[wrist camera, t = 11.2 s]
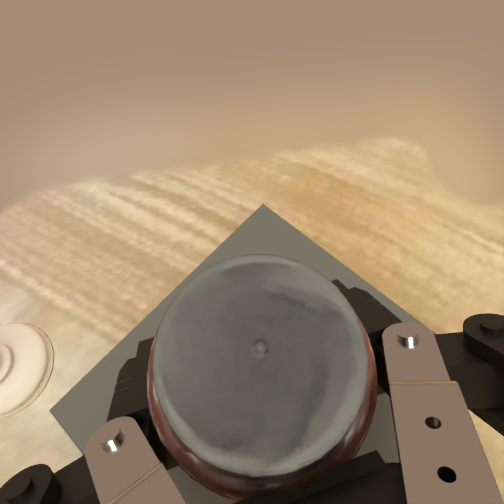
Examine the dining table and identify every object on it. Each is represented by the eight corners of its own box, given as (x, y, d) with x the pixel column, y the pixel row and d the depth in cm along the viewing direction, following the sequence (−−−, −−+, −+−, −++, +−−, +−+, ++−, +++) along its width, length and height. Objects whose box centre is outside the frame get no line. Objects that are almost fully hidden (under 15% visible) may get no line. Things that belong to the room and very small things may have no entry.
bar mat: (259, 666, 14) (258, 684, 13) (60, 410, 18) (49, 410, 17) (458, 361, 19) (468, 358, 18) (262, 211, 23) (262, 203, 22)
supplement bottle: (206, 322, 18) (129, 202, 8) (322, 326, 18) (403, 206, 7) (193, 456, 15) (54, 541, 5) (328, 462, 15) (464, 566, 5)
